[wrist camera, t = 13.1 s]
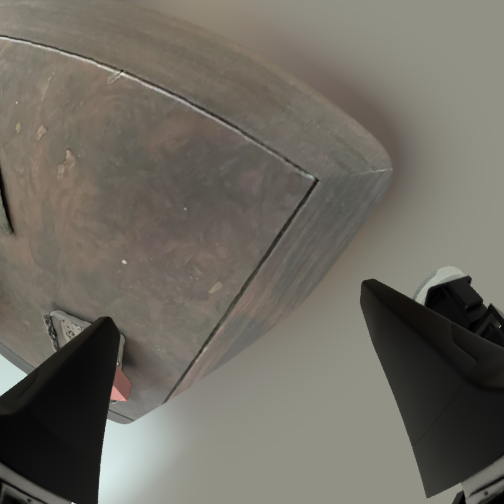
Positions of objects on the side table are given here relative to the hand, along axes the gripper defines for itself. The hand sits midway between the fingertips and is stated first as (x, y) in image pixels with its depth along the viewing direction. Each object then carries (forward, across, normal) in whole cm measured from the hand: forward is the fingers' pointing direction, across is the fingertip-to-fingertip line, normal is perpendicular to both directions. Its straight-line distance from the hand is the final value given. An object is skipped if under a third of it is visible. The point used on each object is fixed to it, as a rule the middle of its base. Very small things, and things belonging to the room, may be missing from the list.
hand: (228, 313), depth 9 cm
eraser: (+9, +17, +14) cm, 24 cm away
